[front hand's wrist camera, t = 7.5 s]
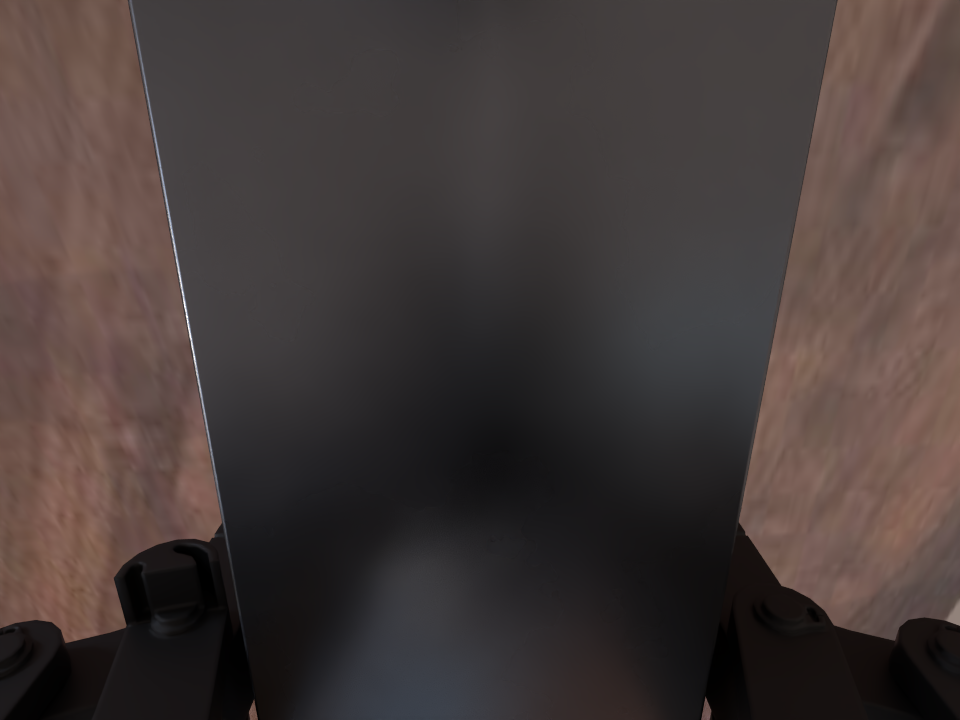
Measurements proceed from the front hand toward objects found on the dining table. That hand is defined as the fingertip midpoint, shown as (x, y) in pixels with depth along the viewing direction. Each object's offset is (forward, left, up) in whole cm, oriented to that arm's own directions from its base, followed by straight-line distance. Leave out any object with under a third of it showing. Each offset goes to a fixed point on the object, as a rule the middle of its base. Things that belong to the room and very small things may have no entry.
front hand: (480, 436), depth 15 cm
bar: (+8, +2, -1) cm, 9 cm away
